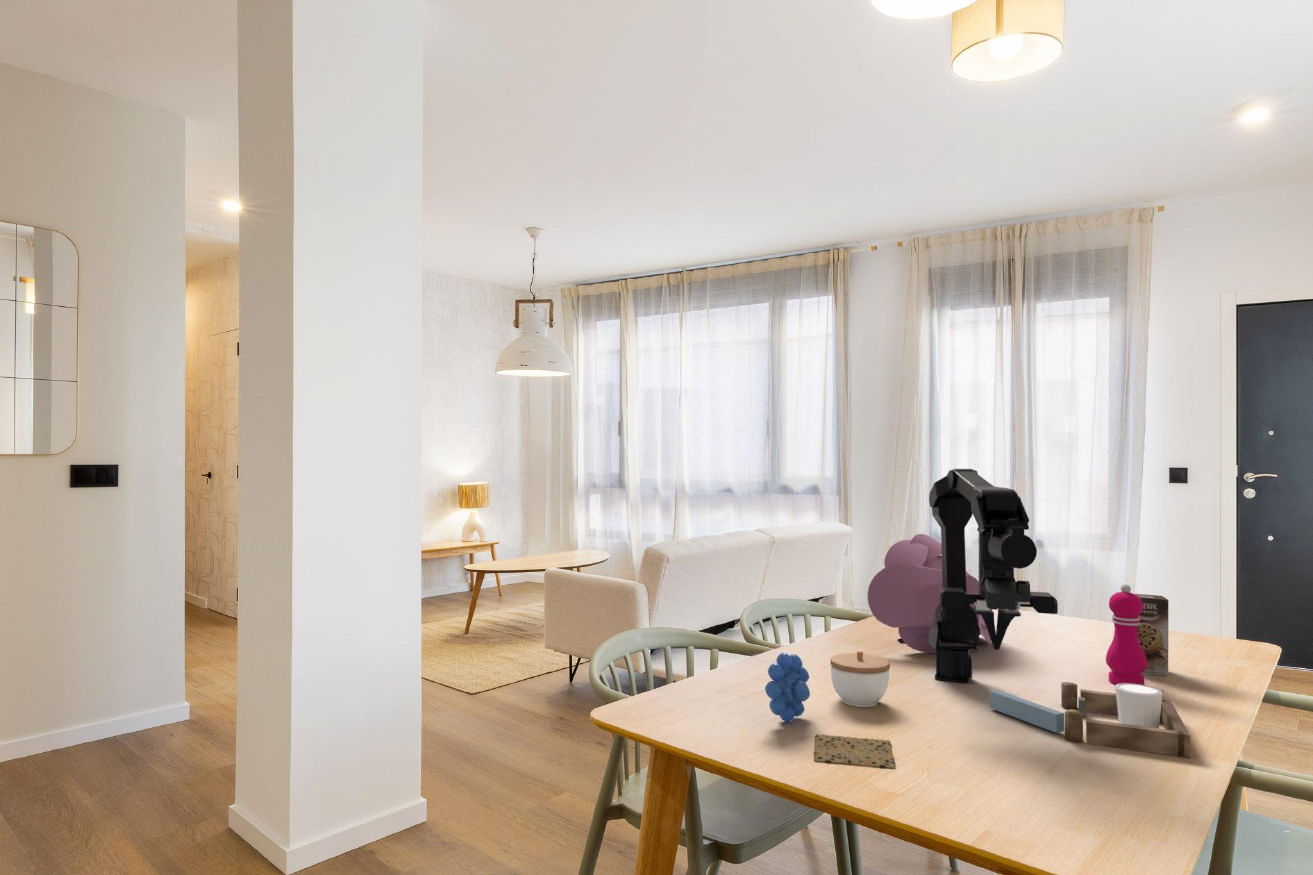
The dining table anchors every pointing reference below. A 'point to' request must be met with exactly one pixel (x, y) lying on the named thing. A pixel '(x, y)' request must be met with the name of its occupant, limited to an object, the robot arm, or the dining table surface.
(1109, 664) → the pepper mill
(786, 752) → the dining table surface
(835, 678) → the lidded jar
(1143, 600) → the dark tall box
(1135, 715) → the white cup
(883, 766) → the cookie
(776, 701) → the grapes
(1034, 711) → the gate
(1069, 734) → the fence
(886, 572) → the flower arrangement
